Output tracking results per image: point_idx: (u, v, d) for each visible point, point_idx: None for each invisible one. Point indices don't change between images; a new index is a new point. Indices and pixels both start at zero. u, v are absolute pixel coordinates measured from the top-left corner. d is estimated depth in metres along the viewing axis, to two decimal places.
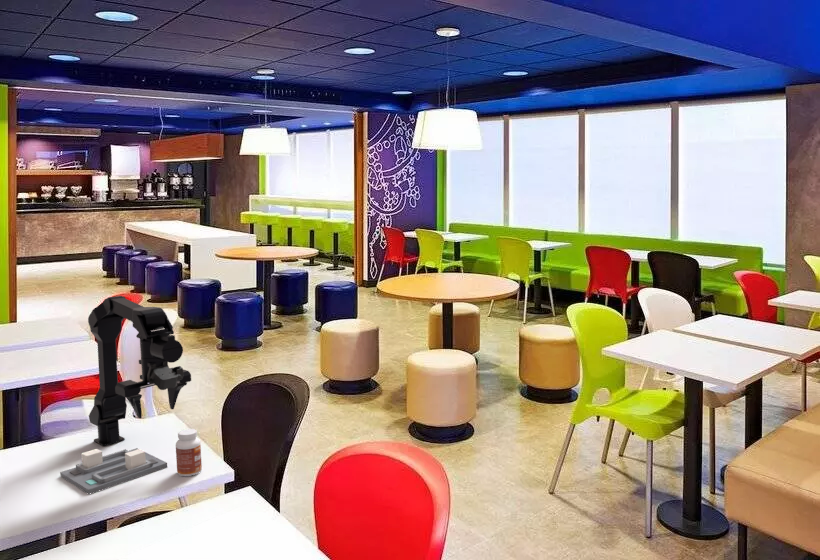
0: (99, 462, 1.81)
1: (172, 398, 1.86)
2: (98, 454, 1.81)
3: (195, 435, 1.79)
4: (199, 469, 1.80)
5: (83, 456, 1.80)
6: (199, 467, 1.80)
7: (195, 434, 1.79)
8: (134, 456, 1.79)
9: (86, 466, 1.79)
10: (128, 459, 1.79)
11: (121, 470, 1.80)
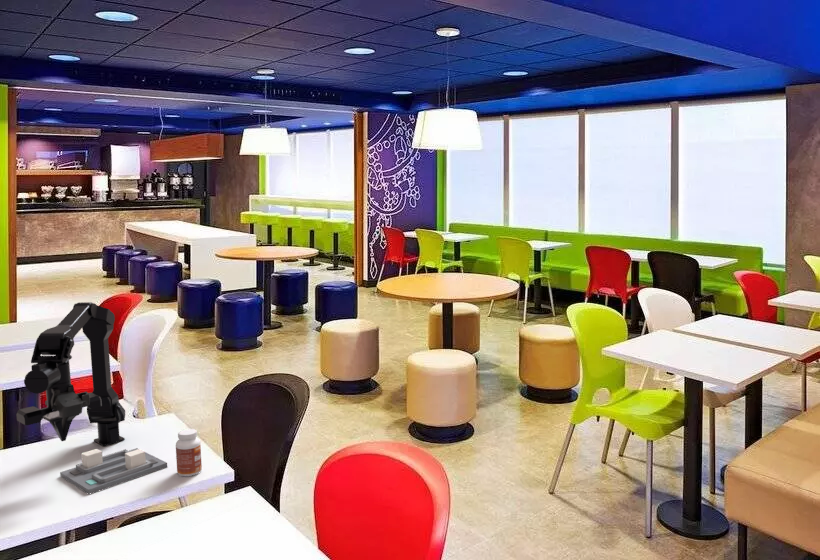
0: (99, 462, 1.81)
1: (63, 429, 1.75)
2: (98, 454, 1.81)
3: (195, 435, 1.79)
4: (199, 469, 1.80)
5: (83, 456, 1.80)
6: (199, 467, 1.80)
7: (195, 434, 1.79)
8: (134, 456, 1.79)
9: (86, 466, 1.79)
10: (128, 459, 1.79)
11: (121, 470, 1.80)
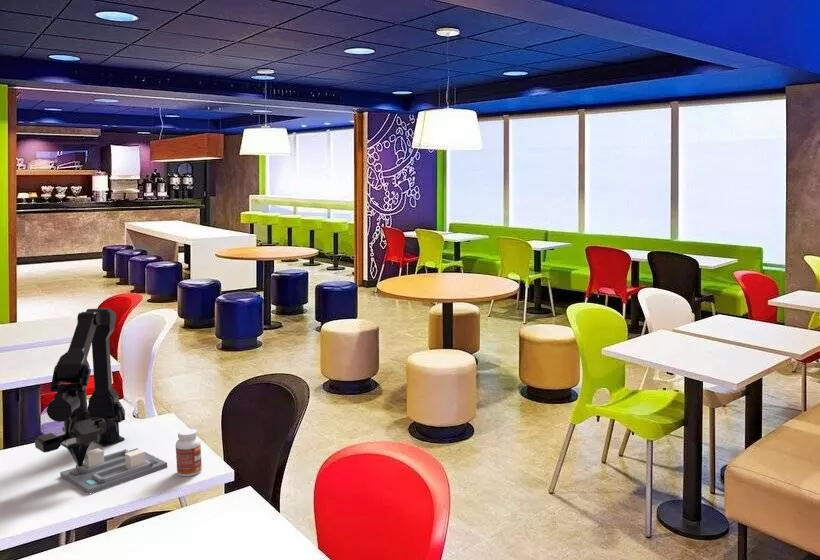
0: (101, 461, 1.82)
1: (80, 455, 1.79)
2: (100, 453, 1.81)
3: (195, 435, 1.79)
4: (199, 469, 1.80)
5: (85, 455, 1.80)
6: (199, 467, 1.80)
7: (195, 434, 1.79)
8: (134, 456, 1.79)
9: (88, 465, 1.80)
10: (128, 459, 1.79)
11: (121, 470, 1.80)
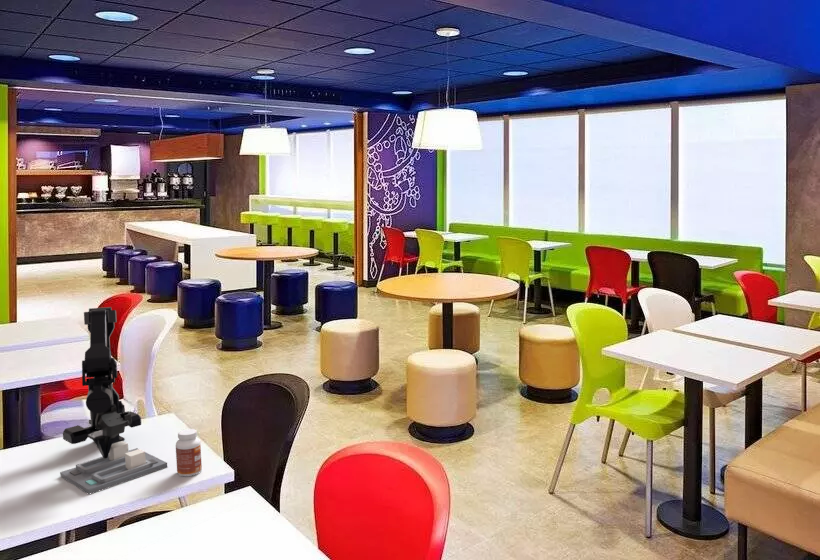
0: None
1: (106, 447, 1.84)
2: (124, 446, 1.86)
3: (195, 435, 1.79)
4: (199, 469, 1.80)
5: None
6: (199, 467, 1.80)
7: (195, 434, 1.79)
8: (134, 456, 1.79)
9: (113, 458, 1.85)
10: (128, 459, 1.79)
11: (121, 470, 1.80)
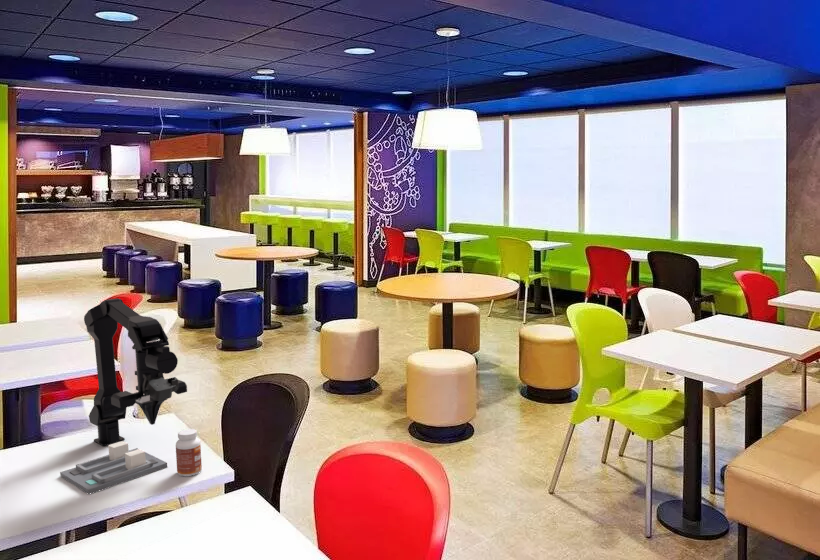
0: None
1: (153, 413, 1.84)
2: (124, 446, 1.86)
3: (195, 435, 1.79)
4: (199, 469, 1.80)
5: (110, 448, 1.85)
6: (199, 467, 1.80)
7: (195, 434, 1.79)
8: (134, 456, 1.79)
9: (113, 457, 1.85)
10: (128, 459, 1.79)
11: (121, 470, 1.80)
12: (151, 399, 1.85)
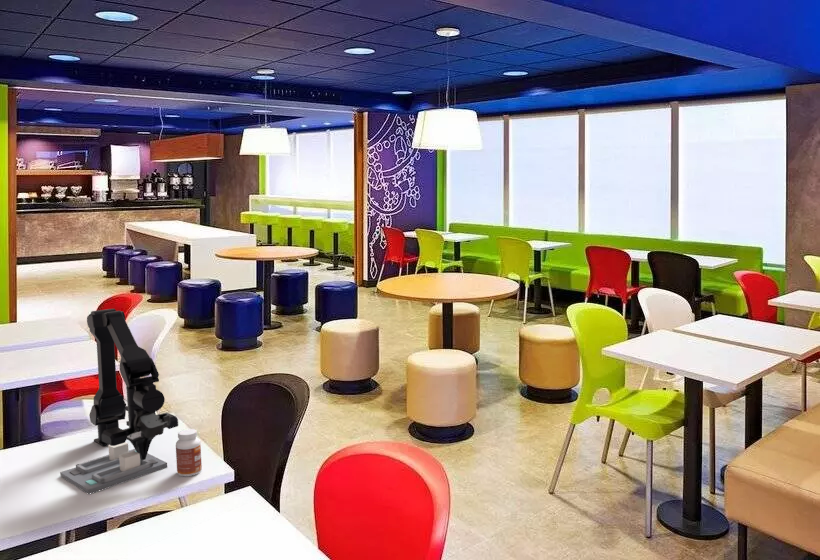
0: None
1: (144, 448, 1.82)
2: (124, 446, 1.86)
3: (195, 435, 1.79)
4: (199, 469, 1.80)
5: (110, 448, 1.85)
6: (199, 467, 1.80)
7: (195, 434, 1.79)
8: (128, 458, 1.78)
9: (113, 457, 1.85)
10: (123, 461, 1.78)
11: None
12: (142, 434, 1.83)
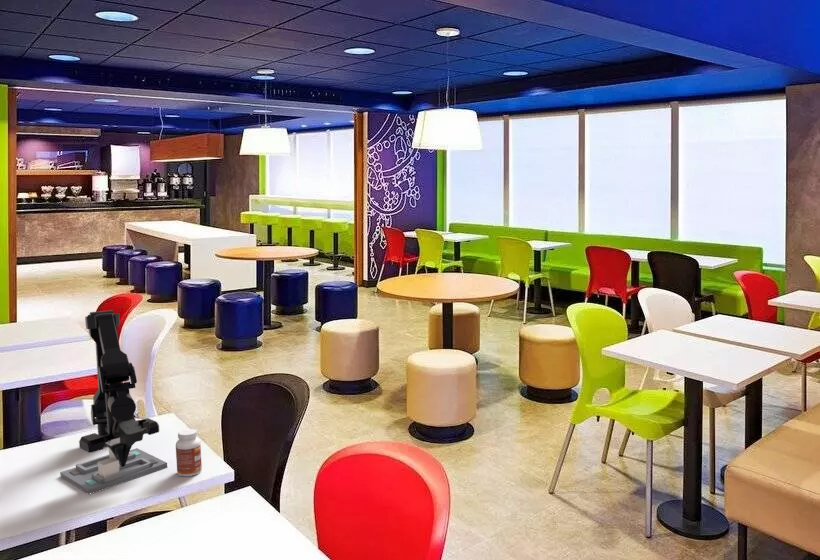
0: None
1: (123, 455, 1.78)
2: None
3: (195, 435, 1.79)
4: (199, 469, 1.80)
5: None
6: (199, 467, 1.80)
7: (195, 434, 1.79)
8: (107, 465, 1.74)
9: (113, 457, 1.85)
10: (101, 468, 1.74)
11: (121, 470, 1.80)
12: (121, 440, 1.79)
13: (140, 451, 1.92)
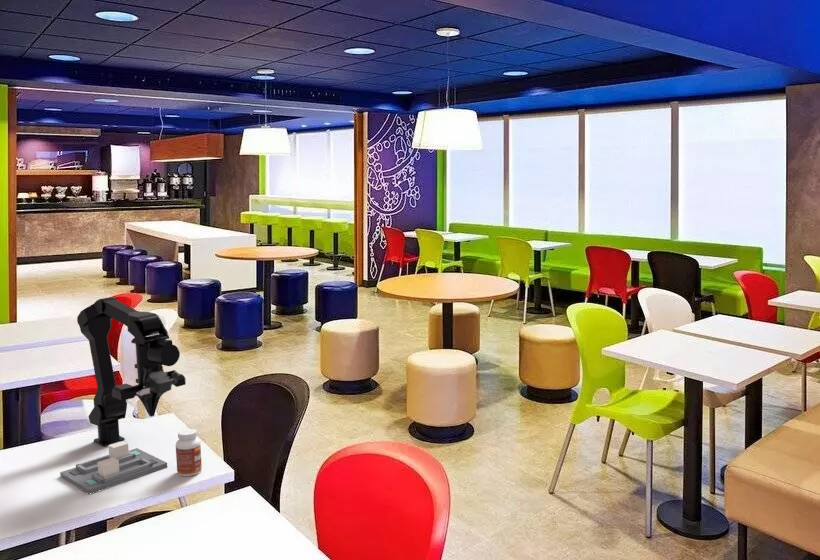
0: (125, 454, 1.87)
1: (152, 405, 1.88)
2: (124, 446, 1.86)
3: (195, 435, 1.79)
4: (199, 469, 1.80)
5: (110, 448, 1.85)
6: (199, 467, 1.80)
7: (195, 434, 1.79)
8: (107, 465, 1.74)
9: (113, 457, 1.85)
10: (101, 468, 1.74)
11: (121, 470, 1.80)
12: (150, 391, 1.89)
13: (140, 451, 1.92)
